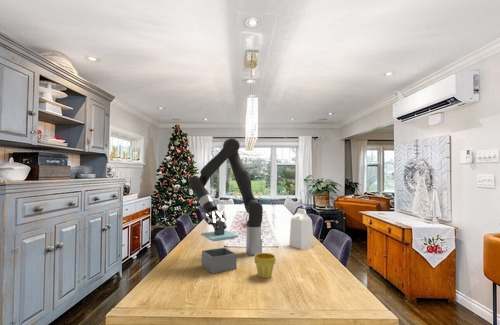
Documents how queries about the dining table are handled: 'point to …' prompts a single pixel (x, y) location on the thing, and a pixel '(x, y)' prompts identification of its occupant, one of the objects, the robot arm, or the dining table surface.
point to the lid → (219, 233)
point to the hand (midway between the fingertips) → (221, 228)
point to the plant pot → (264, 264)
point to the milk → (301, 230)
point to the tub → (219, 260)
